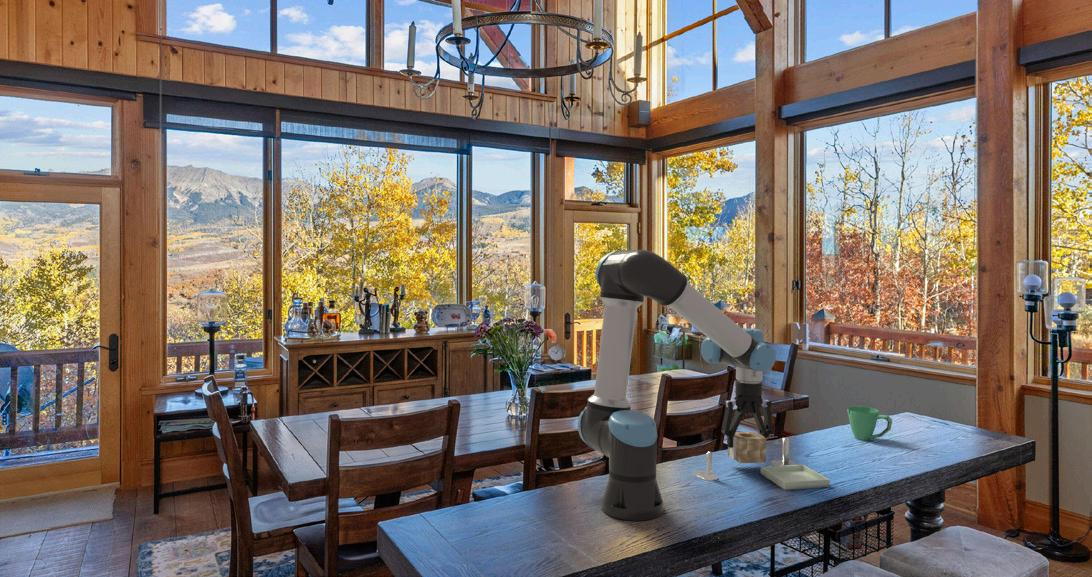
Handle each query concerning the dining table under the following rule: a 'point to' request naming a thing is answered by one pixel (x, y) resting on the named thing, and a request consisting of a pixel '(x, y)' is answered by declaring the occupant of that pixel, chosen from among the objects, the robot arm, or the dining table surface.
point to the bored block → (750, 447)
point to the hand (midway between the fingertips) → (746, 457)
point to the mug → (866, 422)
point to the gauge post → (784, 455)
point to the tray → (795, 477)
